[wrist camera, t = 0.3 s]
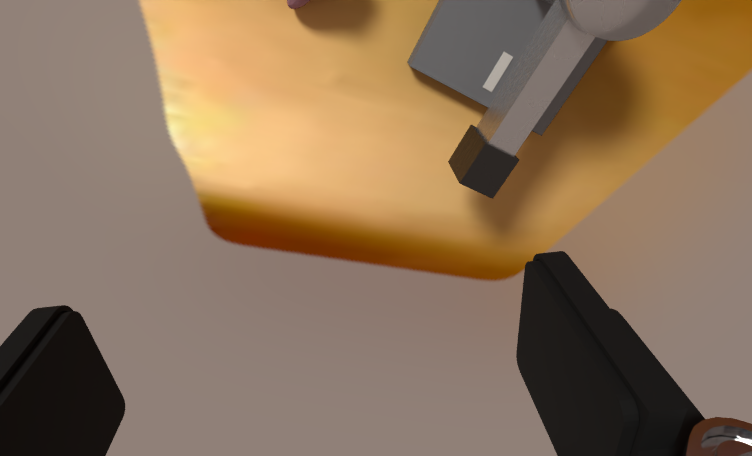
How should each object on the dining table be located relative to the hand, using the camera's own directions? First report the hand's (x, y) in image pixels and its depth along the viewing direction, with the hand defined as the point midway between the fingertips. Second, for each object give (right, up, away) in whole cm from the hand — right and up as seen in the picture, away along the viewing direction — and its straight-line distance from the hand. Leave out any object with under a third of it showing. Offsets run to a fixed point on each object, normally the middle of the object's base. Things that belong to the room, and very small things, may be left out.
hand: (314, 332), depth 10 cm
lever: (+11, +15, +23) cm, 30 cm away
